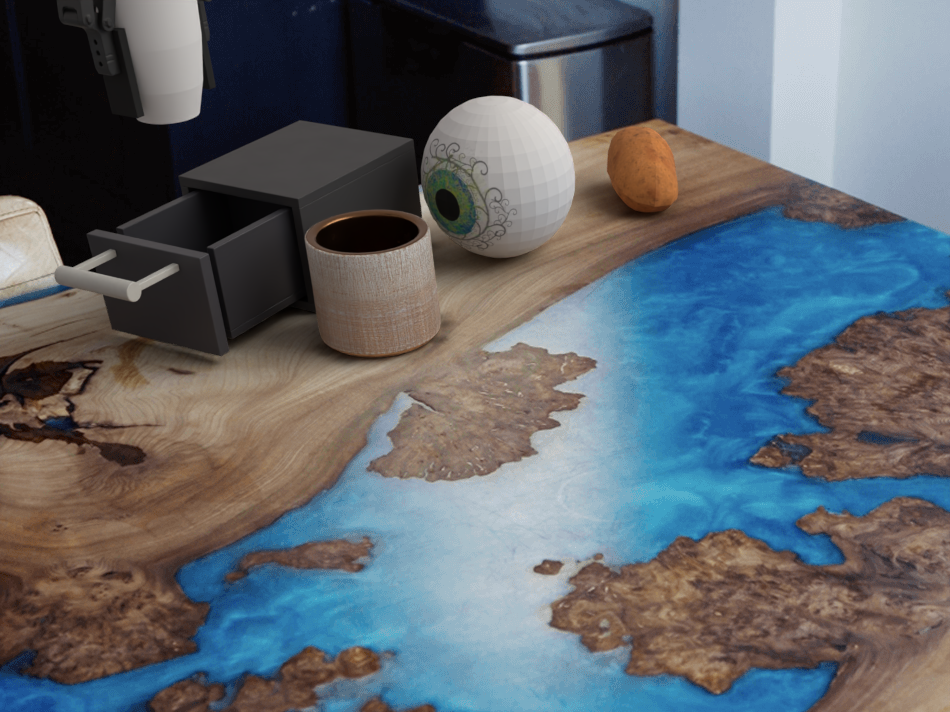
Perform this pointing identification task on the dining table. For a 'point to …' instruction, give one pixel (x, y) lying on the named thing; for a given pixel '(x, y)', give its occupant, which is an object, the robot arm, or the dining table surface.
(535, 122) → the decorative object
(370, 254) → the planter
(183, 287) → the drawer
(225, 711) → the dining table surface
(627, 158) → the potato
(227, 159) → the cabinet
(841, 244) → the dining table surface
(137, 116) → the robot arm
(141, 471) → the dining table surface
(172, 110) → the cup
